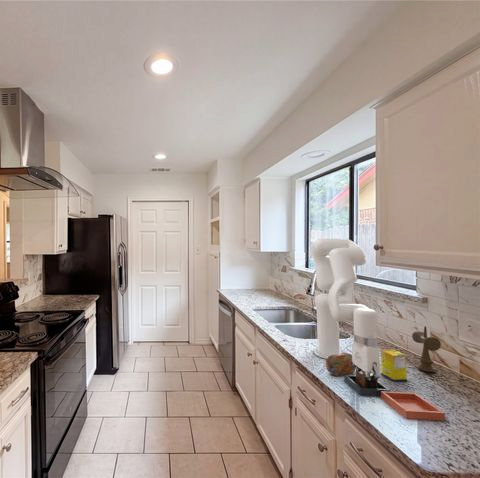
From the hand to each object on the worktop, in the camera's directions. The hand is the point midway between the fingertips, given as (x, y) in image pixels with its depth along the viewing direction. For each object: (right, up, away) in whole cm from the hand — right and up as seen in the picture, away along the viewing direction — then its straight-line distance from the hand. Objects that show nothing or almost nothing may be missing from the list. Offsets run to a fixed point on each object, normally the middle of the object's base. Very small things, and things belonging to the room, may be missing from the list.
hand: (366, 385), depth 105 cm
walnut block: (0, 0, 0) cm, 0 cm away
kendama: (+38, -1, +14) cm, 40 cm away
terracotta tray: (+6, -1, -13) cm, 14 cm away
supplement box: (+18, -1, +8) cm, 20 cm away
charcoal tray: (0, -1, 0) cm, 1 cm away
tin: (-2, -2, +12) cm, 13 cm away
